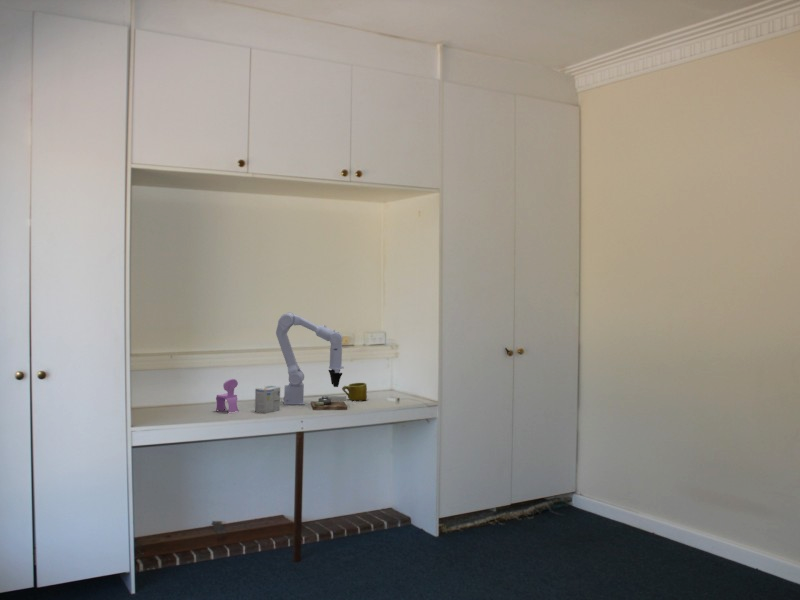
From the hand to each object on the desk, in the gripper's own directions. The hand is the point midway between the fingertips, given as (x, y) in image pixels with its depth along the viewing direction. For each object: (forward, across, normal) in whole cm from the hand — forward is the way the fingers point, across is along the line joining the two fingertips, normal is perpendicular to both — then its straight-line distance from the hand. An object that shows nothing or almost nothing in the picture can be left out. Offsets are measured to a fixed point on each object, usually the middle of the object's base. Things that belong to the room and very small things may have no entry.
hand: (334, 385), depth 367 cm
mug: (+10, +14, -12) cm, 21 cm away
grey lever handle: (+8, -6, +2) cm, 10 cm away
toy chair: (+10, -15, +50) cm, 53 cm away
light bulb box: (+10, -14, +32) cm, 36 cm away
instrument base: (+9, -6, +3) cm, 12 cm away
